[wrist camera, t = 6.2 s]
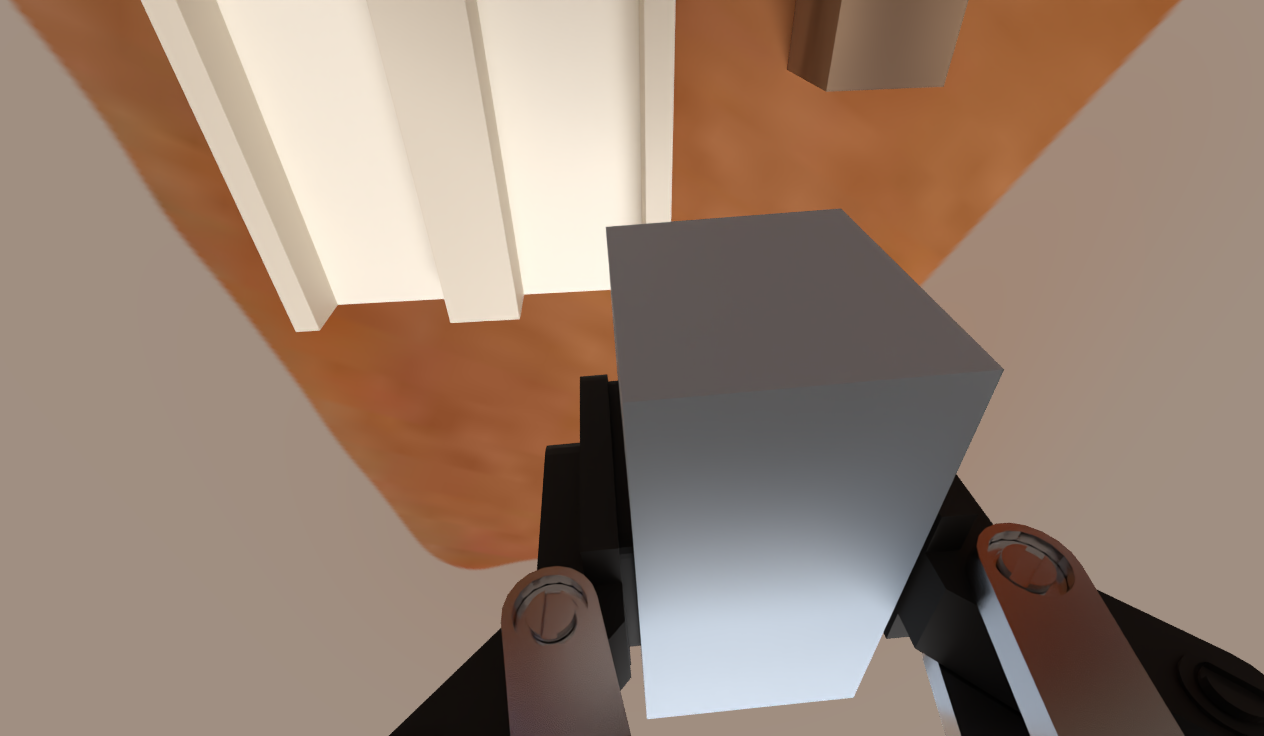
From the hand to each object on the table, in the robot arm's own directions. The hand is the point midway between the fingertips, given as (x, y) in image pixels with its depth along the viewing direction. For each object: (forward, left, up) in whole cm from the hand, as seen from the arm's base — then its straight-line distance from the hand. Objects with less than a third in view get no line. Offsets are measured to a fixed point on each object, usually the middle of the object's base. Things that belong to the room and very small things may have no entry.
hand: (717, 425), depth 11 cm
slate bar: (0, 0, -1) cm, 1 cm away
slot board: (+7, -2, -16) cm, 18 cm away
